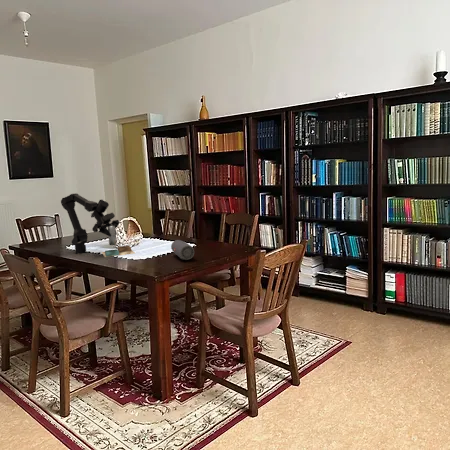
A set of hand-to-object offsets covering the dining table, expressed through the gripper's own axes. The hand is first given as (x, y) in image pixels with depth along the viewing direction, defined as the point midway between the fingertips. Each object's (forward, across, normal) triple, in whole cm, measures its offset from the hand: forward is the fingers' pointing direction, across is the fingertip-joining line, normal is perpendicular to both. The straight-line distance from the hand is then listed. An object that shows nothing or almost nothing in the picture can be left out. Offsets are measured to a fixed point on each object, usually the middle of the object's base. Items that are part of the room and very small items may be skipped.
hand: (113, 235), depth 272 cm
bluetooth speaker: (+42, +12, -22) cm, 49 cm away
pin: (+3, 0, +5) cm, 6 cm away
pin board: (+8, +5, +11) cm, 15 cm away
